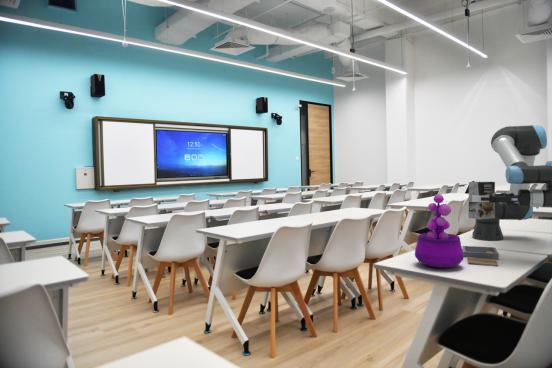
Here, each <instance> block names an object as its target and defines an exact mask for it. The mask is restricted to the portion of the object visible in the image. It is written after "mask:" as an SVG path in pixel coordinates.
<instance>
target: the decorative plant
mask: <svg viewBox="0 0 552 368" xmlns="http://www.w3.org/2000/svg"><path fill="white" fill-rule="evenodd" d="M444 200H445V199H444V196H443V194H440V193H439V194H437V193H436V194H435V195H434V196H433V201H434V202H431V203H429V204H428V205H427V206H428V207H427V208H428V210H429V211H430V212H435V216H433V217H432V219H431V220H430V221H428V222H427V224H426V226H427V229H428V230H429V231H428V232H426V233H425V232H424V233H420V234H418V236H417V241H416V246H415V250H414V257H415V259H417V261H418V262H419V263H422V264H424V265H426V266H429V267H432V268H433V267H434V268H441V269H442V268H451V267H454V266H458V265H460V264H461V263H462V262H463V261H464V258H465V257H463V250H462V243H461V237H460V236H459V235H457V234H452V233H447V232H445V230H448V229H449V228H450V226H451V224H450V222H449V221H448V220H447V219H446V218H445V217H447V216H448V215H450V214H451V212H452V209H451V206H450V205H448V204H447V203H443V202H444ZM441 203H443V204H441Z"/></svg>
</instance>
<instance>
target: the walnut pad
mask: <svg viewBox="0 0 552 368" xmlns="http://www.w3.org/2000/svg"><path fill="white" fill-rule="evenodd" d="M466 259H468V260H467V264H468V265H472V266H473V265H474V266H475V265H476V266H486V267H487V266H488V267H489V266H490V267H499V263H498V260H497V259H490V258H475V257H467V258H466Z"/></svg>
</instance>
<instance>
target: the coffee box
mask: <svg viewBox="0 0 552 368" xmlns="http://www.w3.org/2000/svg"><path fill="white" fill-rule="evenodd" d="M490 194H492V196H495V194H496V182H495V181H468V219H475V220H476V219H490V218H495V202H494V203H492V202H472V195H475V196H489V197H490Z"/></svg>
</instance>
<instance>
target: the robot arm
mask: <svg viewBox="0 0 552 368" xmlns="http://www.w3.org/2000/svg"><path fill="white" fill-rule="evenodd" d="M547 137H548V136H547V131H546V130H545V128H544V127H543V126H542V125H539V124H538V125H536V124H535V125H533V124H532V125H514V126H513V125H512V126H511V125H509V126H504V127H502V128H499V129H498V130H497V131H496V132H494V134H493V135H492V137H491V139H490V145H491V148H492V150H493V151H494V152H495V153H497V154H498V155H499V157H500V159H501V161H502V163H503V164H504V166H505V167H506V170H505V179H506V180H505V181H506V182H507V184H509V185H510V186H509V191H508V192H507V193H495V196H492V194H490V197H489V196H475V195H472V202H492V203H494V202H495V218H490V219H475V225H474V228H473V230H472V238H473V239H476V240H481V241H502V240H504V234H503V232H502V229H501V225H500V220H504V221H506V220H507V221H511V220H512V221H514V220H517V221H525V220H528V219H530V218H531V216H532V214H533V212H534V208H536V209H539V208H552V160H547V161H546V162H545V164H544V165H543V164H542V165H534V164H535V160H536V156H538V155H539V154H540V153H541V150H544V149H546V147H547V145H548V138H547ZM531 184H533V185H535V184H541V185H542V184H544V185H545V189H542V188H541V189H539V188H538V189H535V188H533V189H530V186H531Z"/></svg>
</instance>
